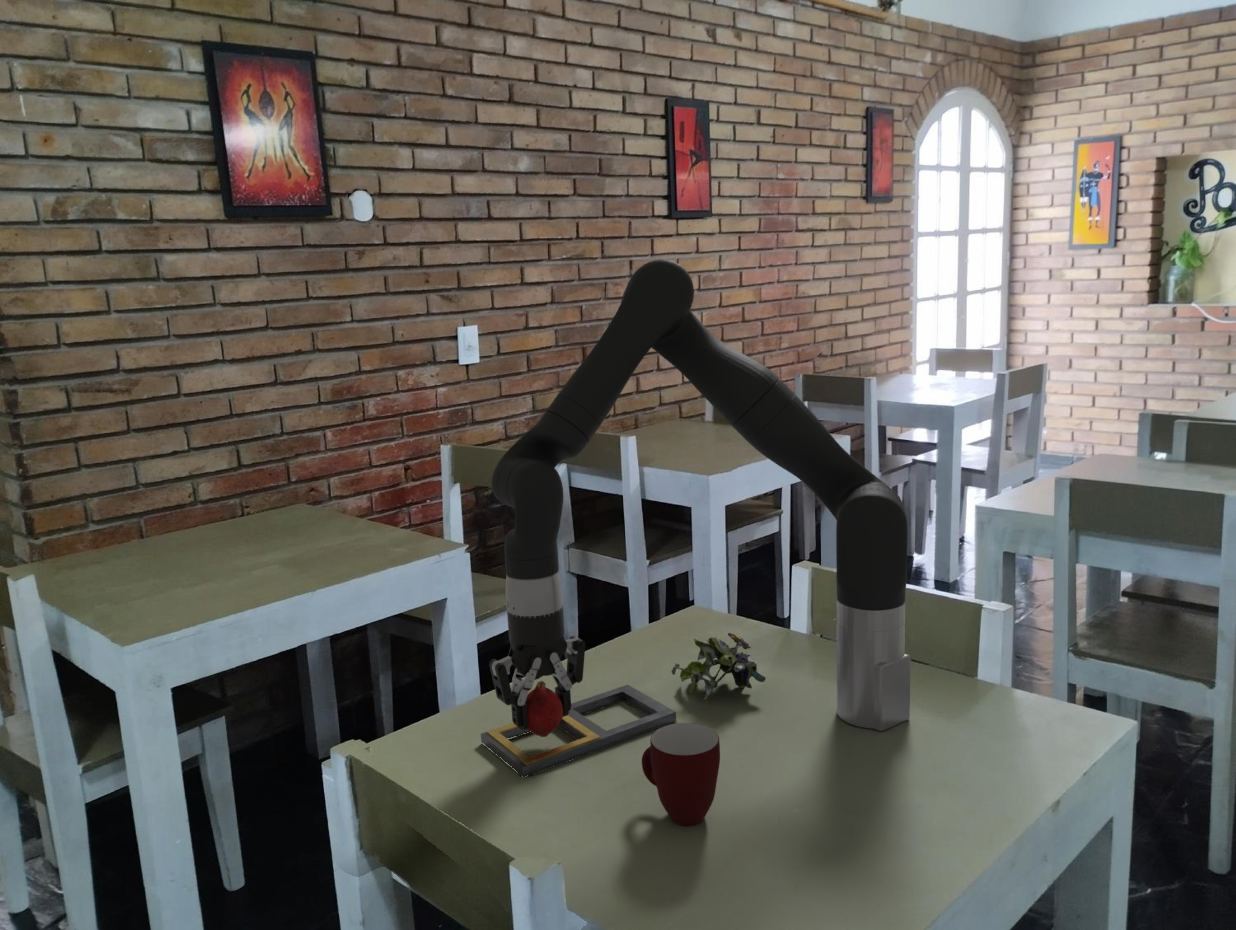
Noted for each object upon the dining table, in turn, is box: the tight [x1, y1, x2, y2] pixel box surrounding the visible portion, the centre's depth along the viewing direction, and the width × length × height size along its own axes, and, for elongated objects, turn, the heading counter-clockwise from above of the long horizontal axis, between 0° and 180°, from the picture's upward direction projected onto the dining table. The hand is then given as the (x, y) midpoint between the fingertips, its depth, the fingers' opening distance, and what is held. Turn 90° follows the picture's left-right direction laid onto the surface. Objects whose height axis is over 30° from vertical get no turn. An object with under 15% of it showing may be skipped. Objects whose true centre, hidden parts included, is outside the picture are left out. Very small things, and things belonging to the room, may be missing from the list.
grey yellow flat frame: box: [480, 684, 677, 777], centre depth 136 cm, size 12×25×2 cm, turn 125°
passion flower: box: [671, 632, 766, 704], centre depth 145 cm, size 11×11×12 cm
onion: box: [525, 680, 563, 738], centre depth 132 cm, size 6×6×8 cm
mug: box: [641, 722, 721, 826], centre depth 114 cm, size 11×8×10 cm
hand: (542, 720), depth 132 cm, fingers closed on onion, 5 cm apart
